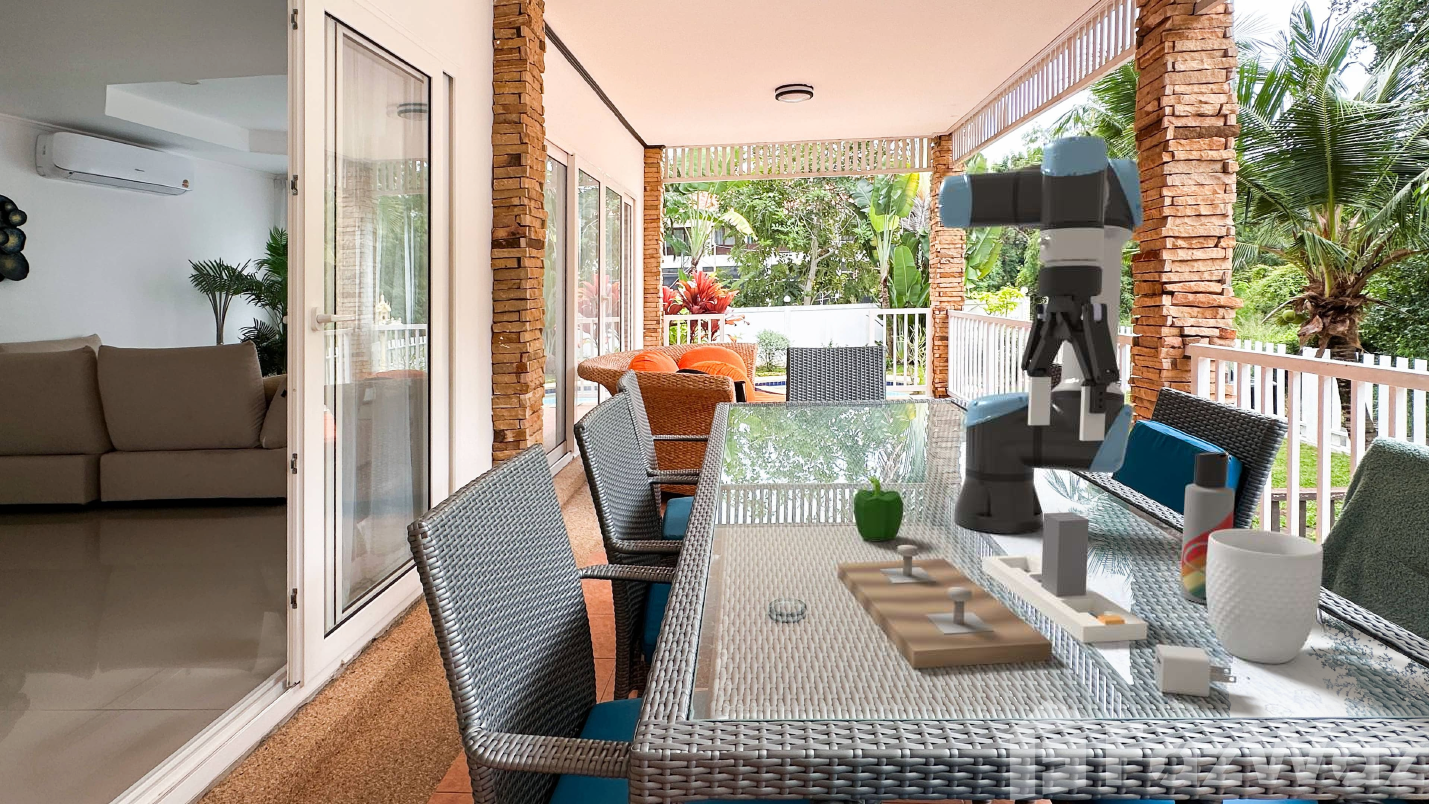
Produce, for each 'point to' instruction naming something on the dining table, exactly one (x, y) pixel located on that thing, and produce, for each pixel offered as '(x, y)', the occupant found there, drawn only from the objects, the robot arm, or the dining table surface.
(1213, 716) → the dining table surface
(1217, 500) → the lotion bottle
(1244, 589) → the mug
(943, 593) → the pin board
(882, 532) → the bell pepper
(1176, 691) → the usb wall charger
